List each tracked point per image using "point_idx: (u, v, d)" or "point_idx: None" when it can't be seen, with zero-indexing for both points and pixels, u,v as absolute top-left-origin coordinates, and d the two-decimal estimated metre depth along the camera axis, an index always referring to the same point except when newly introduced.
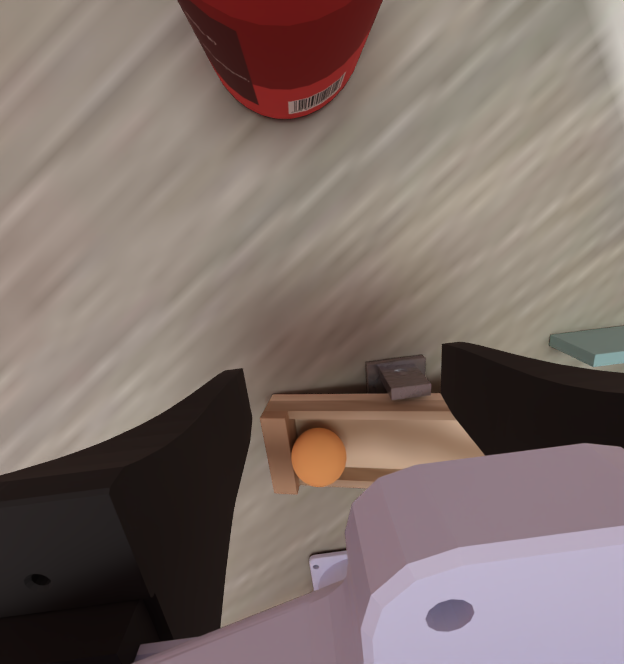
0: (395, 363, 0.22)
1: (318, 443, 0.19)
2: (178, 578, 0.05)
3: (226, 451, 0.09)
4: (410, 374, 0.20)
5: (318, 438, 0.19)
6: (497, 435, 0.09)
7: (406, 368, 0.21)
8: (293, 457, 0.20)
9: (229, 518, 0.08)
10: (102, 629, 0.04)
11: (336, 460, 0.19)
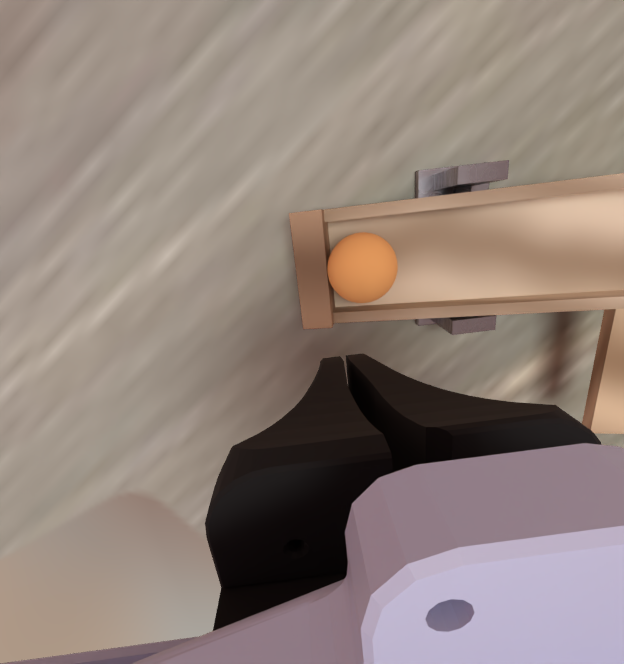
0: None
1: (365, 236, 0.15)
2: None
3: None
4: None
5: (364, 233, 0.15)
6: None
7: None
8: (331, 261, 0.15)
9: None
10: None
11: (388, 256, 0.15)
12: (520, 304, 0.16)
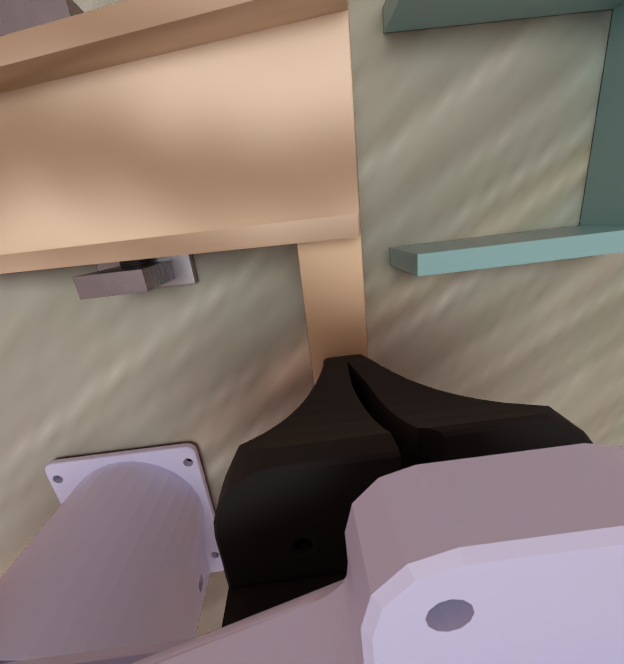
0: None
1: None
2: None
3: None
4: None
5: None
6: None
7: None
8: None
9: None
10: None
11: None
12: (129, 244, 0.10)
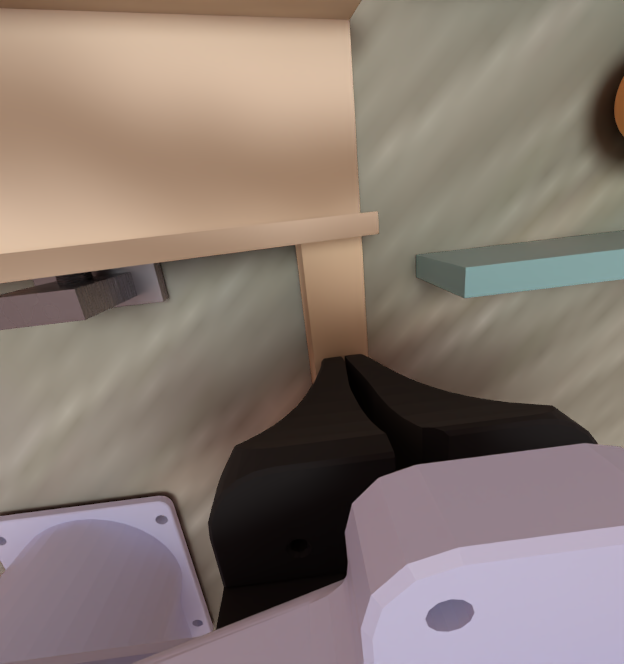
0: None
1: None
2: None
3: None
4: None
5: None
6: None
7: None
8: None
9: None
10: None
11: None
12: (101, 247, 0.07)
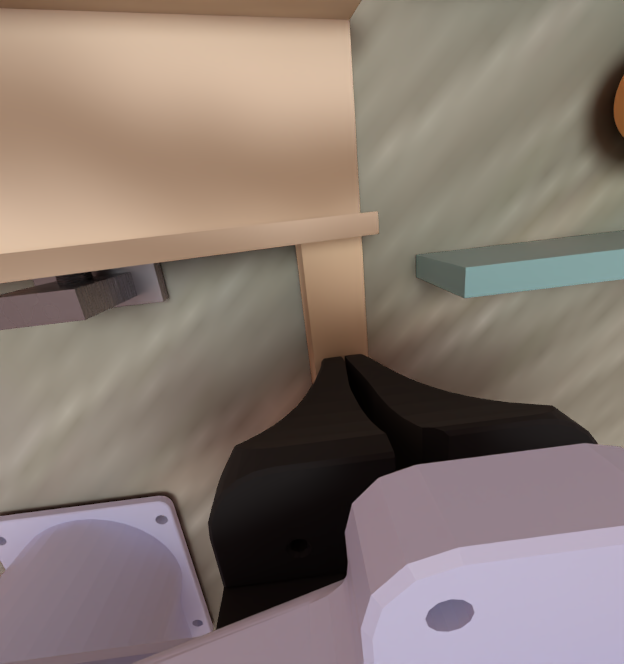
0: None
1: None
2: None
3: None
4: None
5: None
6: None
7: None
8: None
9: None
10: None
11: None
12: (101, 247, 0.07)
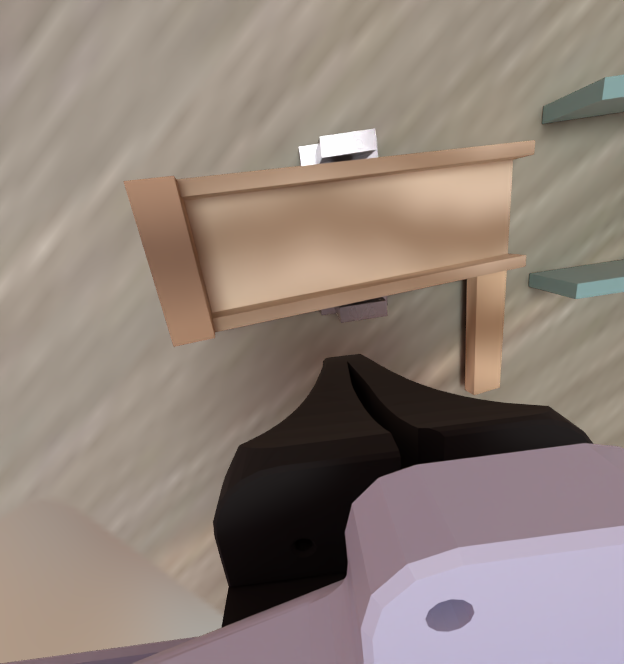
0: None
1: None
2: None
3: None
4: None
5: None
6: None
7: None
8: None
9: None
10: None
11: None
12: (410, 280, 0.16)
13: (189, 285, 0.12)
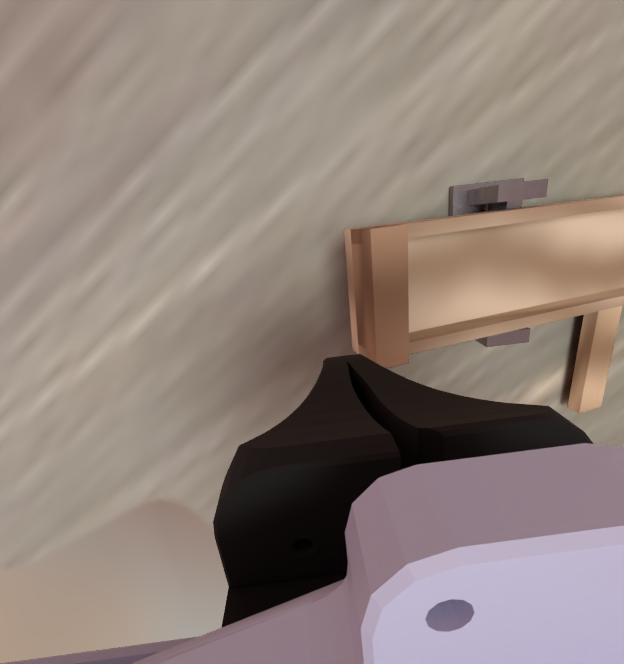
0: (487, 184, 0.18)
1: None
2: None
3: None
4: None
5: None
6: None
7: None
8: None
9: None
10: None
11: None
12: (556, 312, 0.17)
13: (399, 317, 0.14)
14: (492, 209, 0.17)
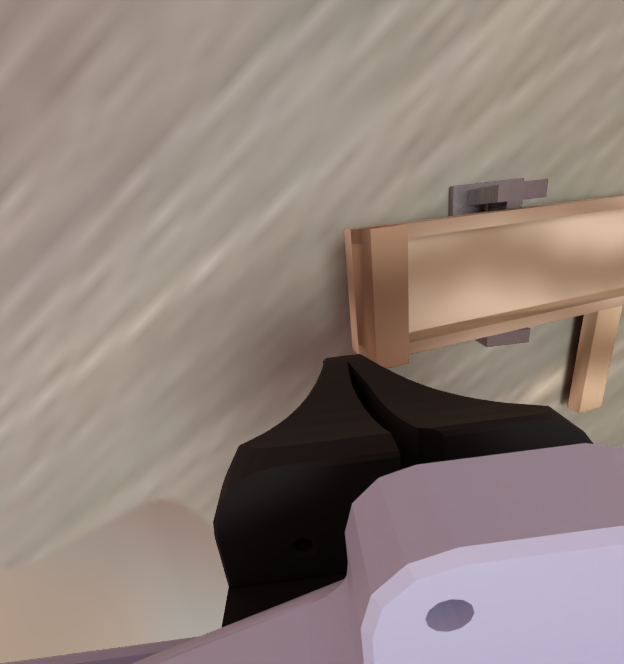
0: (487, 184, 0.18)
1: None
2: None
3: None
4: None
5: None
6: None
7: None
8: None
9: None
10: None
11: None
12: (556, 312, 0.17)
13: (399, 317, 0.14)
14: (492, 209, 0.17)
